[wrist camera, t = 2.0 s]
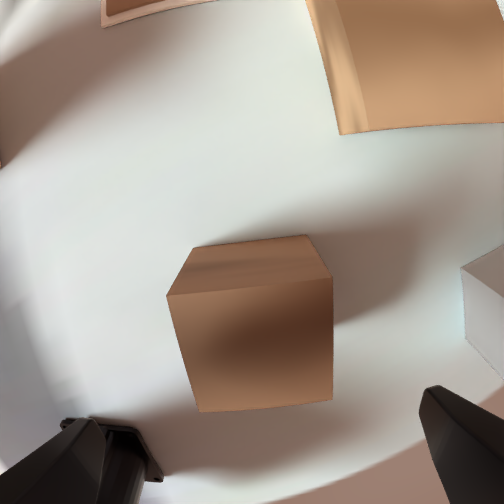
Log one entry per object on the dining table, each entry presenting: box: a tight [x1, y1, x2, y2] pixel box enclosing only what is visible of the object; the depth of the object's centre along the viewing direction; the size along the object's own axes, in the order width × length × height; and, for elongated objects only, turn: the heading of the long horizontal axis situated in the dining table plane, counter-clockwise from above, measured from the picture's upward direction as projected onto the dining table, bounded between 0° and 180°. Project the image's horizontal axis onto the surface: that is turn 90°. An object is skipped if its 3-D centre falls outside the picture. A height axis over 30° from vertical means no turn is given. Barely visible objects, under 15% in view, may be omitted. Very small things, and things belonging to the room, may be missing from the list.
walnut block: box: [166, 235, 333, 412], centre depth 13 cm, size 5×5×5 cm
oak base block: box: [305, 0, 504, 135], centre depth 10 cm, size 8×8×4 cm
